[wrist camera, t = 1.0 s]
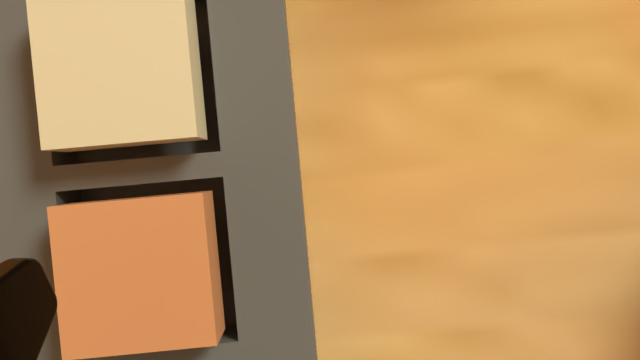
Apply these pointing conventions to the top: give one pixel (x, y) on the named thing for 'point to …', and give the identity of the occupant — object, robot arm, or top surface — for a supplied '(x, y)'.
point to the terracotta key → (136, 275)
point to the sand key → (116, 73)
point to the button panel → (185, 178)
